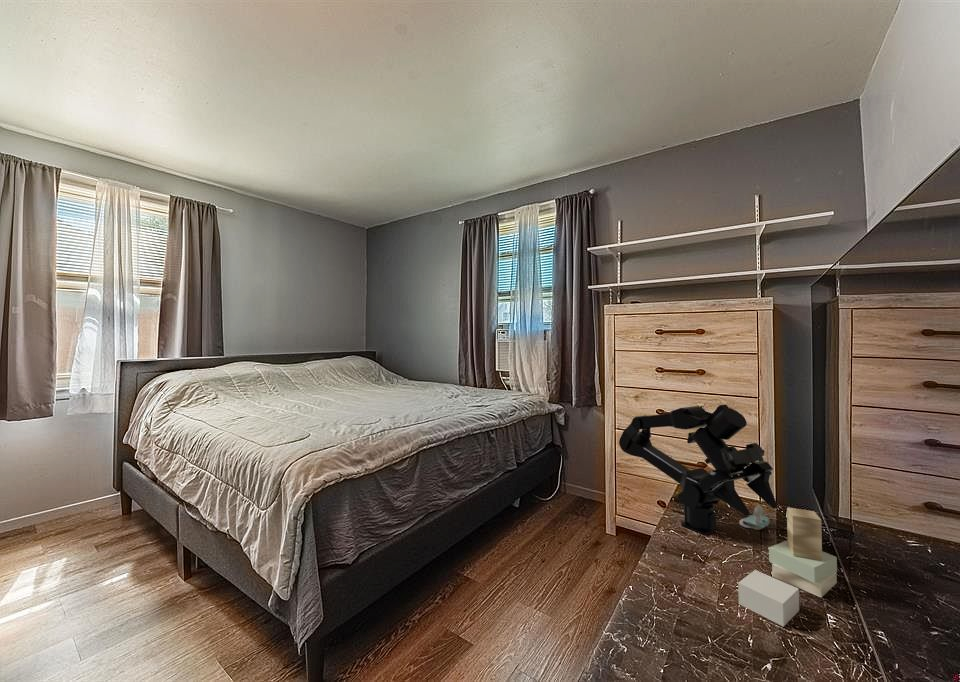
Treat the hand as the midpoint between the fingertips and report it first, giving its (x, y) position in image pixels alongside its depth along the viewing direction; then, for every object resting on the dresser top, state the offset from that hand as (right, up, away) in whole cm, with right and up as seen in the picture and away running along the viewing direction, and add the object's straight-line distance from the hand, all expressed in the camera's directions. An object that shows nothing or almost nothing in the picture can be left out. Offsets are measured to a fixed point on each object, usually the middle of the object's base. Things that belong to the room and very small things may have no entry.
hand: (762, 511), depth 86 cm
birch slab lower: (+3, -11, -7) cm, 14 cm away
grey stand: (-10, -11, -15) cm, 21 cm away
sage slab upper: (+3, -8, -7) cm, 11 cm away
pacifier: (+9, -11, +15) cm, 21 cm away
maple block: (+3, -5, -7) cm, 10 cm away
